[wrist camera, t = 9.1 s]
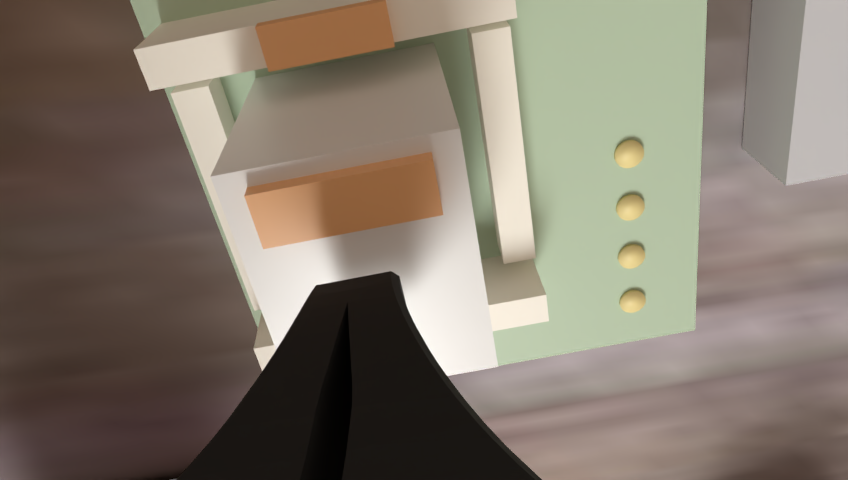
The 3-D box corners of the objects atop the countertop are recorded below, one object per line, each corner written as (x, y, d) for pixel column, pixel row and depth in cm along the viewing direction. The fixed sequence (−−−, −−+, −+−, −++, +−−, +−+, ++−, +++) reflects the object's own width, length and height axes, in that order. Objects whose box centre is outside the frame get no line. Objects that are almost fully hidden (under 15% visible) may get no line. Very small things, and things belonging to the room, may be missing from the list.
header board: (681, 309, 21) (730, 384, 18) (290, 380, 21) (278, 465, 18) (691, -142, 14) (768, -135, 12) (136, -28, 15) (82, 5, 12)
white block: (467, 235, 18) (500, 377, 13) (314, 264, 18) (295, 414, 13) (434, 42, 15) (462, 135, 10) (255, 77, 15) (206, 184, 11)
